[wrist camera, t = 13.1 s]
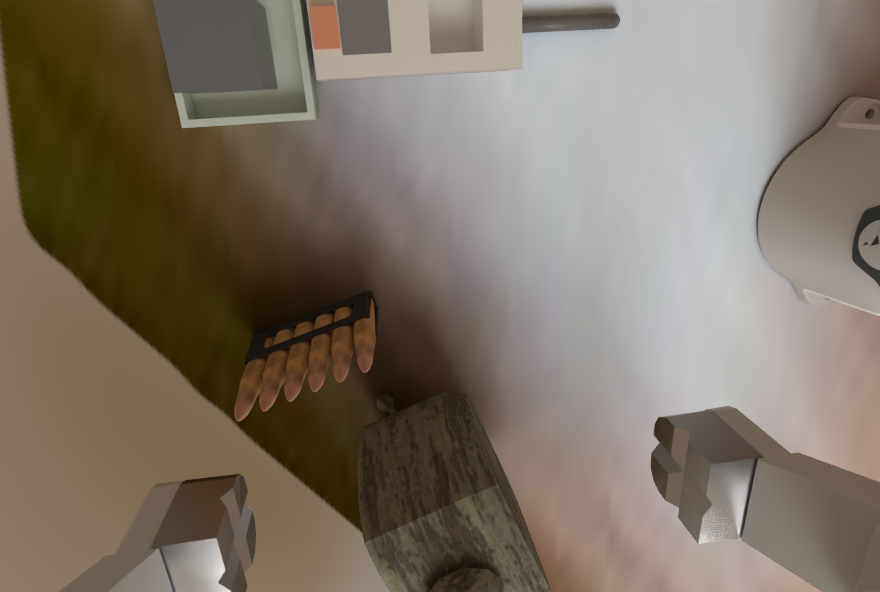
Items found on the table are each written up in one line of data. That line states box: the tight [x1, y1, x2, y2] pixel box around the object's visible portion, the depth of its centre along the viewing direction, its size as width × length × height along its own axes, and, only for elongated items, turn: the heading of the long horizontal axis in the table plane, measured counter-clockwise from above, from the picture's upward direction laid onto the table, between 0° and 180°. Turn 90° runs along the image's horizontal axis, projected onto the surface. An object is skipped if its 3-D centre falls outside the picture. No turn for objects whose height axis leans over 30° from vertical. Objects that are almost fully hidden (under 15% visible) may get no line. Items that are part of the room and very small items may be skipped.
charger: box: [152, 0, 278, 93], centre depth 33 cm, size 5×5×9 cm
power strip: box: [306, 0, 620, 81], centre depth 37 cm, size 22×6×5 cm, turn 93°
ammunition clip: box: [234, 291, 378, 421], centre depth 40 cm, size 11×2×12 cm, turn 109°
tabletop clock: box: [357, 392, 550, 592], centre depth 39 cm, size 14×9×25 cm, turn 23°
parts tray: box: [174, 0, 319, 128], centre depth 36 cm, size 9×9×3 cm
